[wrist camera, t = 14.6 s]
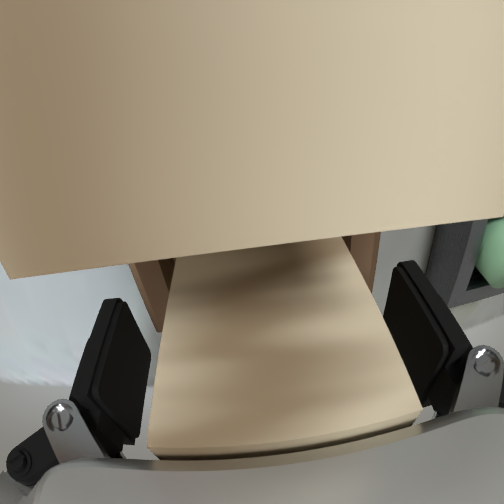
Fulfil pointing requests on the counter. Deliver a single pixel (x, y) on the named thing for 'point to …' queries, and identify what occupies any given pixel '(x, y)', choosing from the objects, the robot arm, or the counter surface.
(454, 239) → the switch box
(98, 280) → the counter surface
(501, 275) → the button
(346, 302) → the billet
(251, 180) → the block
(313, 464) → the robot arm
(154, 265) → the brown wooden tray
